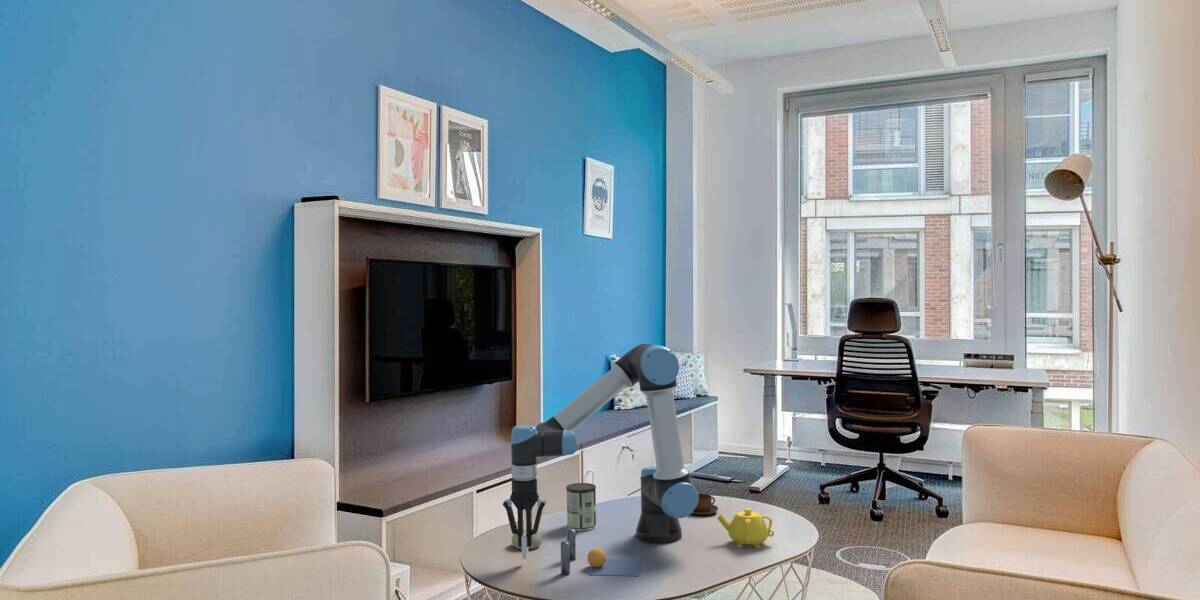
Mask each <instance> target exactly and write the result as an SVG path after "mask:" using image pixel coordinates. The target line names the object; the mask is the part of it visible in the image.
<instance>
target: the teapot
mask: <svg viewBox="0 0 1200 600" xmlns="http://www.w3.org/2000/svg"><path fill="white" fill-rule="evenodd" d="M716 519H717V520H718V521H719V522H720V524H721V525H722V526H723V527H724V529H725V530H727V532H728V535H729V538H730V539H731V540H732V541H733V542H735V543H736V545H737V546H743V547H744V545H753V546H754V547H753V548H755V547H760V548H761V544H762V543H763V544H764V542H765V541H766V540H767V539H768V538H769V537H773V536H774V535H775V531H774V530H773V529H771V528H772V525H773V519H772V517H770V516H769V515H761V514H760V513H759V512H756V511H753V509H752V508H746V507H745V508H743V510H742V511H738V512H736V513H735V515H734V516H733V518H732V520H731V521H730V522H729V521H728V520H727V519H726V518H725V516H724V515H723V514H720V515H719V516H718V517H716ZM765 519H767V520H768V522H769V523H768V525H767V523H766V521H765ZM737 546H736V547H737Z"/></svg>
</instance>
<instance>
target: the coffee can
mask: <svg viewBox="0 0 1200 600" xmlns="http://www.w3.org/2000/svg"><path fill="white" fill-rule="evenodd" d="M565 489H566V521H567V522H566V527H567V528H566V529H569V528H574V529H575V532H586V531H591V530H594V529H596V528H597V503H596V501H597V500H596V496H597V495H596V489H597V487H596V485H595V484H593V483H590V482H589V483H588V482H575V483H571V484H567V485H566V487H565Z"/></svg>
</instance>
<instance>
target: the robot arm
mask: <svg viewBox="0 0 1200 600" xmlns="http://www.w3.org/2000/svg"><path fill="white" fill-rule="evenodd" d="M611 366H612V367H611V369H610V370H608V371H607V372H606V373H605V374H604V375H602V376H601V377H599V379H597V380H596V381H595V382H594V383H593V384H591V385H590V386H589V387H587V388H586V389H584V391H582V392H581V393H580V394H579V395H578V396H576V397H575V398H574V399H572V400H571V401H569V402H568V404H566V405H565V406H564V407H562V408H561V409H560V410H559V411H558V412H556V413H555V414H554V415H552V417H550V418H548V419H547V420H546V421H544V422H539V423H538V424H536V425H532V424H520V425H515V426H513V427H512V429H511V437H510V438H511V439H510V440H511V441H510V444H511V445H510V448H511V450H510V451H511V456H510V457H511V478H512V479H511V494H510V497H509V498H508V499H505V500H504V501H503V502H502V505H503V507H504V509H505V510H506V514H507V518H508V521H509V526H510V531H511V534H513V535H514V534H516V535H518V545H519V547H522V549H521V559H525V560H526V559H528V557H529V549H528V547H530V546H531V544H532V535H533V534H536V533H537V532H538V531H539V527H540V522H541V517H542V515H543V509H544V507H545V506H546V504H547V500H543V499H541V498H540V496H539V493H538V479H537V477H538V465H537V464H538V462H537V461H538V458H546V457H559V456H562V457H566V456H572V455H574V454H575V453H576V451H577V444H578V443H577V435H576V433H575V431H574V430H575V429H576V428H578V427H579V426H580V425H581V424H583V423H584V422H585V421H586V420H587V419H589V418H590V417H592V416H593V415H594V414H595V413H596V412H597V411H599V410H600V409H601V408H602V407H604V406H605V405H606V404H608V402H610V401H611V400H612V399H614V398H615V397H616V396H617V395H618V394H620V393H621V392H622V391H624V390H625V389H626V388H632V387H634V385H636V384H637V383H639V384H638V385H639V391H640V393H643V394H644V395H645V399H646V406H647V410H648V418H649V420H648V421H649V424H650V433H651V438H652V447H653V452H654V458H655V460H654V461H655V466H645V467H643V468H642V469H641V470H640V506H641V507H640V509H641V511H640V515H639V519H638V522H637V526H636V528H635V536H636V538H637V539H638V540H641V541H644V542H649V543H658V544H659V543H663V544H664V543H672V542H676V541H678V540H680V539H682V536H683V530H682V527H681V524H680V519H684V518H686V517H689V516H690V515H691V514H692V512H693V511H694V509H695V508H696V506H697V504H698V494H699V493H698V490H697V489H696V487H695V485H694V484H692V480H691V473H690V469H689V468H687V467H686V466H685V465H684V458H683V457H684V456H683V450H682V445H681V438H680V431H679V424H678V416H677V411H676V403H675V398H674V390H676V388H677V387H678V385H677V384H678V383H677V377H678V375H679V372H680V362H679V359H678V357H677V355H676V354H675V353H674V351H672V350H671V349H670V348H668V347H666V346H664V345H661V344H660V345H659V344H650V343H641V344H639V345H636V346H634V347H633V348H630V350H628V351H627V352H626V353H625V354H623V355H622V356H621V357H620V358H619V359H618V360H616V361H615V362H614V363H613V364H612V365H611ZM536 503H537V505H536ZM513 505H514V507H515V509H516V510H517V511H516V513H517V521H516V518H515V514H514V510H513V507H512V506H513ZM535 505H536V506H537V507H538V508H537V510H536V514H535V519H534V523H533V521H532V520H533V515H532V514H533V512H532V510H533V508H534V506H535ZM524 510H525V519H526V520H525V523H526V524H525V528H526V529H525V530H526V534H523V532H524V531H523V530H524ZM516 522H517V523H516Z"/></svg>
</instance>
